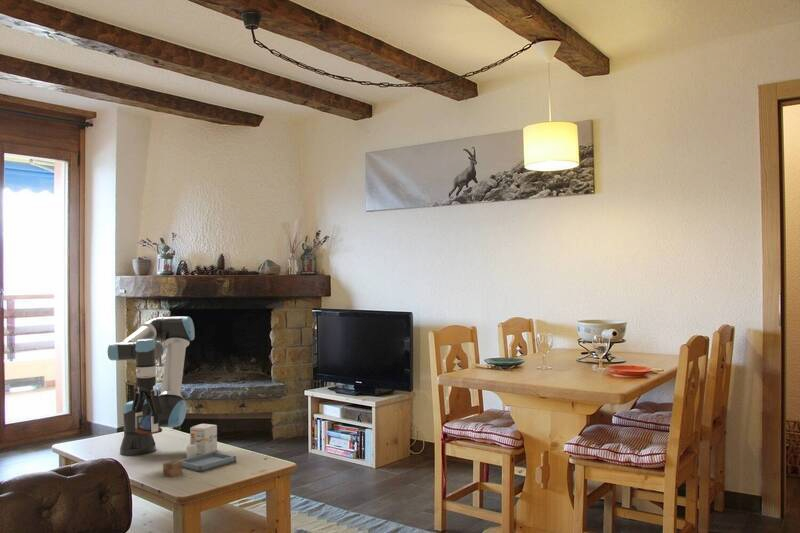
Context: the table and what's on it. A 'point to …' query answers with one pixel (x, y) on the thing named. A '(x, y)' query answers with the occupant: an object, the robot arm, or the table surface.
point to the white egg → (191, 450)
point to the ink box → (204, 438)
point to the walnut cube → (172, 468)
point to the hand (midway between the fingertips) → (146, 429)
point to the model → (145, 425)
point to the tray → (207, 461)
